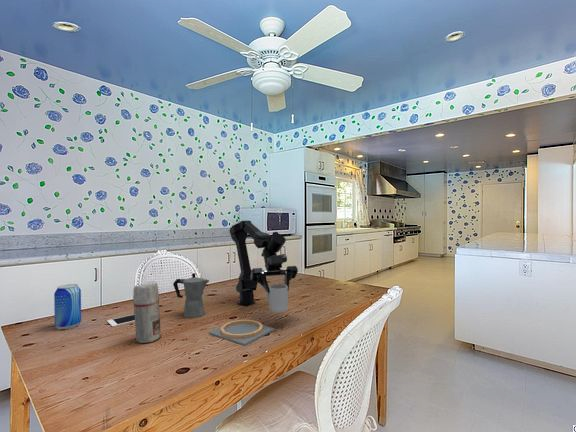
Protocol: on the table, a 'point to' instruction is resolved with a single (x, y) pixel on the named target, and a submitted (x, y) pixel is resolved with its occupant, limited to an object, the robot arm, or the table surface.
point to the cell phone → (122, 320)
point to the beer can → (67, 306)
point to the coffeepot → (192, 295)
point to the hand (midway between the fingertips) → (278, 291)
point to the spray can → (146, 312)
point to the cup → (278, 298)
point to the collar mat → (242, 331)
